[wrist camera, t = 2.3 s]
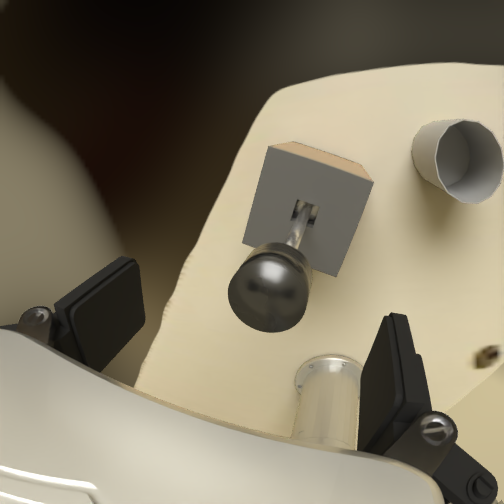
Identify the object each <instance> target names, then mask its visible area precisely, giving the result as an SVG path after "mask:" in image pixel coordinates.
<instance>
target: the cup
mask: <svg viewBox="0 0 504 504" xmlns="http://www.w3.org/2000/svg"><path fill="white" fill-rule="evenodd" d="M411 152H412V157H413V161H414V166H415V167H416V169H417V170H418V172H419V173H420V175H421V176H422V178H424V179H425V180H427V181H429V182H430V183H432V184H434V185H435V186H437V187H438V188H440V189H442V190H443V191H445V192H446V193H448V194H449V195H451V196H453V197H454V198H456V199H457V200H459V201H460V202H462V203H472V204H478V203H480V202H482V201H484V200H486V199H488V198H490V197H491V196H492V195H493V194H494V192H495V191H496V190H497V188H498V187H499V185H500V184H501V180H502V176H503V171H504V159H503V152H502V147H501V146H500V144H499V142H498V140H497V138H496V137H495V135H494V133H493V132H492V131H491V130H490V129H488V128H487V127H486V126H484V125H483V124H482V123H480V122H479V121H473V120H466V119H456V120H442V121H433V122H431V123H429V124H427V125H424V126H422V127H421V129H420V130H419V131H418V133H417V134H416V135H415V137H414V140H413V146H412V151H411Z"/></svg>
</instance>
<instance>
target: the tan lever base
mask: <svg viewBox="0 0 504 504" xmlns="http://www.w3.org/2000/svg"><path fill="white" fill-rule="evenodd" d="M373 183H374V182H373V180H372V179H371V178H370V176H369V175H368V173H367V172H366V171H365V169H364V168H363V166H362V165H360V164H358V163H355V162H352V161H350V160H347V159H344V158H341V157H339V156H336V155H333V154H330V153H327V152H324V151H321V150H318V149H315V148H312V147H309V146H306V145H303V144H300V143H296V142H288V143H282V144H277V145H272V146H268V149H267V153H266V156H265V160H264V164H263V167H262V171H261V175H260V178H259V182H258V186H257V189H256V193H255V197H254V200H253V204H252V208H251V212H250V215H249V219H248V223H247V226H246V230H245V234H244V238H243V241H242V243H243V244H246V245H249V246H251V247H254V248H257V247H259V246H261V245H263V244H266V243H272V242H279V243H284V242H285V240H286V238H287V236H288V234H289V232H290V230H291V228H292V226H293V224H294V222H295V220H296V219H295V218H292V216H293V213H294V210H295V206H296V203H297V200H298V199H299V200H302V201H305V202H308V203H310V204H313V205H316V206H319V207H320V208H319V211H318V213H317V216H316V219H315V222H314V225H312V224H309V223H307V225H306V228H305V231H304V233H303V236H302V239H301V241H300V244H299V247H298V249H297V250H299V251H300V252H301V253H302V254H303V255H304V256H305V257H306V258H307V260H308V262H309V264H310V266H311V268H312V269H315V270H318V271H320V272H323V273H326V274H329V275H331V276H334V277H337V274H338V272H339V270H340V267H341V265H342V263H343V260H344V258H345V255H346V253H347V251H348V248H349V246H350V243H351V241H352V238H353V236H354V233H355V231H356V228H357V226H358V223H359V221H360V218H361V216H362V213H363V210H364V208H365V205H366V202H367V200H368V197H369V194H370V192H371V189H372V186H373Z"/></svg>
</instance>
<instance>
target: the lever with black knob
mask: <svg viewBox="0 0 504 504" xmlns="http://www.w3.org/2000/svg"><path fill="white" fill-rule="evenodd" d="M319 208H320V207H319V206H316V205H313V204H310V203H308V202H305V201H302V200H299V199H298V200H297V203H296V206H295V210H294V213H293V216H292V218H295V219H296V220H295V222H294V224H293V226H292V228H291V230H290V232H289V234H288V236H287V238H286V240H285V242H284V243H279V242H272V243H266V244H263V245H261V246H259V247H257V248H256V249H254V250H253V251H252V252H251V253H250V255H249V256H248V257H247V259H246V260H245V261H244V263H243V264H242V265H241V267H240V268H239V269H238V271H237V272H236V274H235V275H234V276H233V278H232V279H231V281H230V284H229V288H228V299H229V303H230V306H231V308H232V310H233V312H234V313H235V314H236V316H237V317H238V318H239V319H240V320H241V321H242V322H243V323H245V324H246V325H248V326H250V327H251V328H254V329H256V330H259V331H263V332H269V333H275V332H282V331H285V330H288V329H290V328H292V327H293V326H295V325H296V324H297V323H298V322H299V321H300V320H301V319H302V317H303V315H304V313H305V310H306V306H307V302H308V297H309V293H310V288H311V284H312V270H311V266H310V264H309V262H308V260H307V258H306V257H305V256H304V255H303V254H302V253H301V252H300V251H299V250H297V249H298V247H299V244H300V241H301V239H302V236H303V233H304V231H305V228H306V225H307V223H309V224H312V225H314V222H315V219H316V216H317V213H318V211H319Z"/></svg>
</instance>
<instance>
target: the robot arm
mask: <svg viewBox="0 0 504 504" xmlns="http://www.w3.org/2000/svg"><path fill="white" fill-rule="evenodd" d="M54 307H55V311H56V312H55V313H52V311H51V309H50V308H48V307H46V306H36V307H32V308H30V309H28V310H26V311H25V312H24V313H23V314H22V315H21V317H20V319H19V322H18V324H12V325H6V326H0V504H504V503H503V502H502V500H501V501H500V502H497V500H496V496H497V491H498V486H497V481H496V479H495V477H494V476H493V475H492V474H491V473H490V472H489V471H488V470H487V469H485V468H484V467H483V466H482V465H481V464H479V463H478V462H477V461H476V460H475V459H473V458H472V457H471V456H470V455H469V454H467V453H466V452H465V451H464V450H463V449H461V448H460V447H459V446H458V445H457V444H456V443H455V442H456V440H457V437H458V430H457V426H456V424H455V423H454V421H453V420H452V419H451V418H450V417H449V416H448V415H446V414H444V413H442V412H439V411H432V407H431V401H430V395H429V390H428V385H427V380H426V375H425V370H424V366H423V361H422V358H421V355H419V354H416V352H415V348H414V344H413V339H412V335H411V331H410V327H409V323H408V319H407V316H406V315H403V314H398V313H392V312H391V313H390V314H389V316H384V317H383V320H382V322H381V325H380V328H379V330H378V333H377V336H376V338H375V341H374V343H373V346H372V348H371V351H370V353H369V356H368V358H367V360H366V363H365V365H364V368H362V366H361V365H360V364H358V363H357V362H356V361H354V360H352V359H350V358H347V357H344V356H339V355H324V356H319V357H316V358H313V359H311V360H309V361H307V362H305V363H304V364H303V365H302V366H301V367H300V369H299V370H298V372H297V375H296V379H295V386H296V389H297V391H298V392H299V394H300V395H301V397H300V401H299V406H298V410H297V414H296V418H295V422H294V426H293V430H292V434H291V438H287V437H282V436H277V435H273V434H269V433H265V432H261V431H257V430H253V429H249V428H245V427H242V426H238V425H235V424H231V423H228V422H224V421H221V420H218V419H215V418H211V417H208V416H205V415H202V414H199V413H196V412H193V411H190V410H188V409H185V408H182V407H179V406H176V405H174V404H171V403H168V402H166V401H163V400H161V399H158V398H156V397H153V396H151V395H148V394H146V393H143V392H141V391H139V390H136V389H134V388H132V387H129V386H127V385H125V384H123V383H121V382H118V381H116V380H114V379H112V378H110V377H108V376H105V375H103V374H101V373H100V372H101V371H102V370H103V369H104V368H105V367H106V366H107V365H108V364H109V362H110V361H111V360H112V359H113V358H114V357H115V356H116V355H117V353H119V352H120V350H121V349H122V348H123V347H124V346H125V345H126V344H127V342H129V340H131V338H132V337H133V336H134V335H135V334H136V333H137V332H138V331H139V330H140V329H141V328H142V327H143V325H144V323H145V311H144V304H143V296H142V288H141V278H140V269H139V265H138V264H137V262H136V260H135V259H133V258H128V257H124V256H121V257H119V258H118V259H116V260H115V261H114V262H112V263H110V264H109V265H107V266H106V267H105V268H103V269H102V270H100V271H99V272H97V273H96V274H95V275H93V276H92V277H90V278H89V279H88V280H86V281H85V282H84V283H82V284H81V285H79V286H78V287H76V288H75V289H74V290H73V291H71V292H70V293H68V294H67V295H65V296H64V297H63V298H61V299H60V300H59V301H57V302H56V303H55V304H54ZM359 397H360V408H359V429H358V444H357V451H356V450H355V438H356V423H357V403H358V398H359Z"/></svg>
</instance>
